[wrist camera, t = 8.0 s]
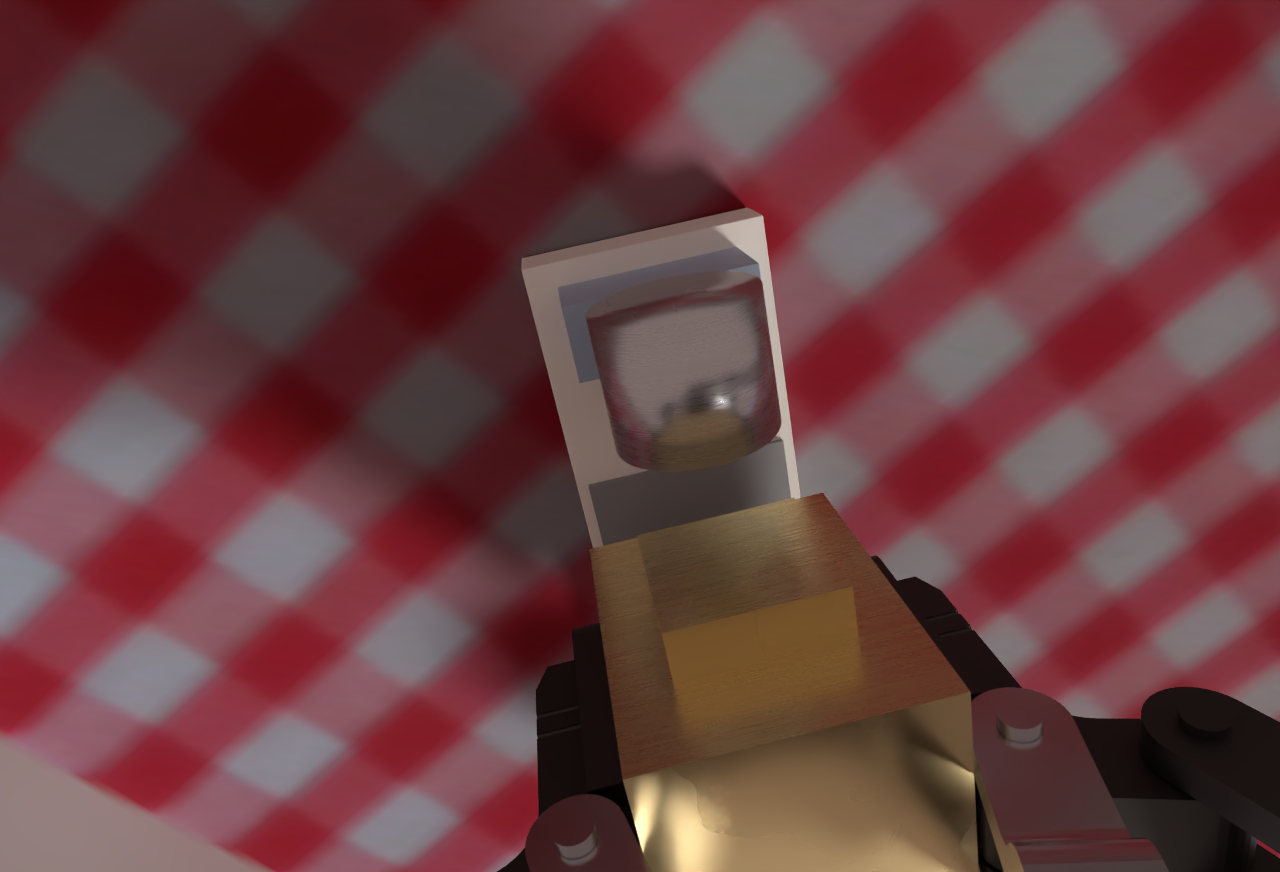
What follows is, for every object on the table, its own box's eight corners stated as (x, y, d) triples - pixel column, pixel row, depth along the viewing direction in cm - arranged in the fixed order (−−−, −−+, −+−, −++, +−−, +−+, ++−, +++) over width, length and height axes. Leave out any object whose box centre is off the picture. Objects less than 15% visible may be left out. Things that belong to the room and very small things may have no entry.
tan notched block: (577, 507, 13) (607, 724, 9) (817, 450, 14) (967, 633, 9) (644, 763, 16) (695, 1042, 11) (849, 711, 16) (982, 966, 11)
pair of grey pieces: (539, 306, 12) (542, 354, 10) (738, 260, 12) (785, 298, 10) (688, 898, 17) (712, 1015, 15) (827, 862, 17) (871, 973, 15)
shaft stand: (521, 258, 14) (521, 289, 12) (747, 207, 14) (787, 228, 12) (660, 800, 19) (677, 891, 17) (824, 758, 20) (863, 843, 17)
